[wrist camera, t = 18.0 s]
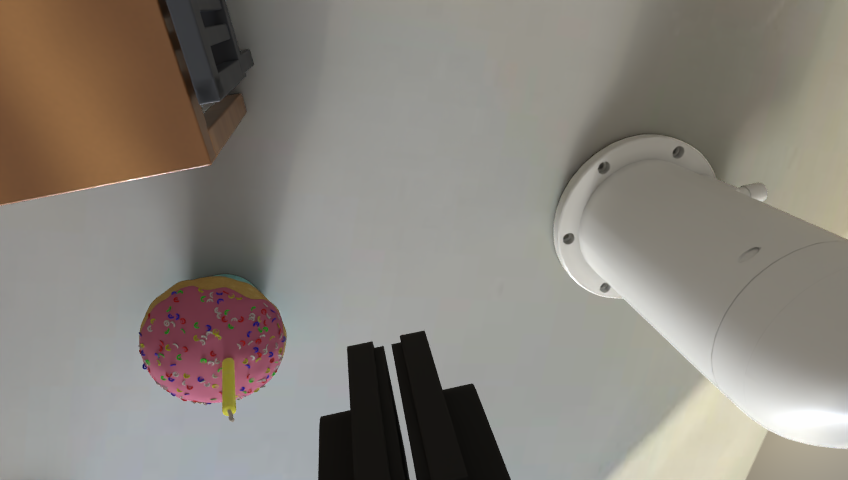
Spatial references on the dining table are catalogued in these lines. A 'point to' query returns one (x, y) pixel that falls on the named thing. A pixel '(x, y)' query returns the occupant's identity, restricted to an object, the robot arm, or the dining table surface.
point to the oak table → (98, 98)
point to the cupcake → (212, 340)
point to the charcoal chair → (209, 47)
